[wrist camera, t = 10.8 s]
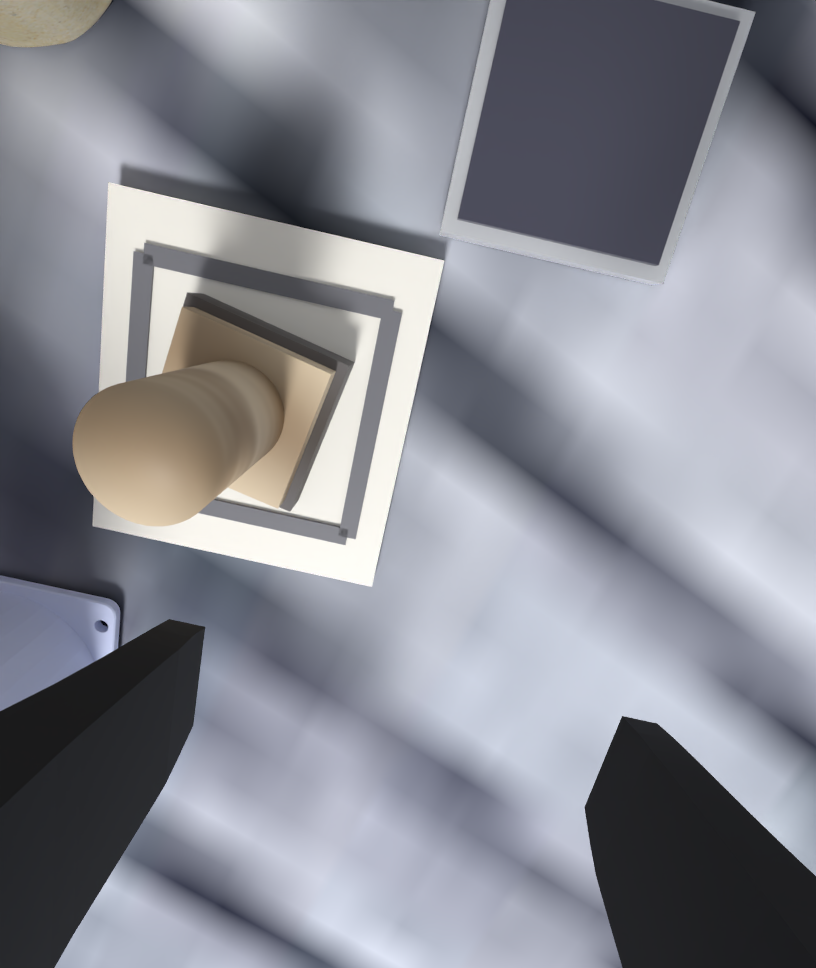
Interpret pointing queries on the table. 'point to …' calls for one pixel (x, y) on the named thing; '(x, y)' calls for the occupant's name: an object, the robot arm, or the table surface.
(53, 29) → the flower pot
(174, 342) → the stamp
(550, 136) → the ink pad
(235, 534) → the print card
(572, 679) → the table surface
